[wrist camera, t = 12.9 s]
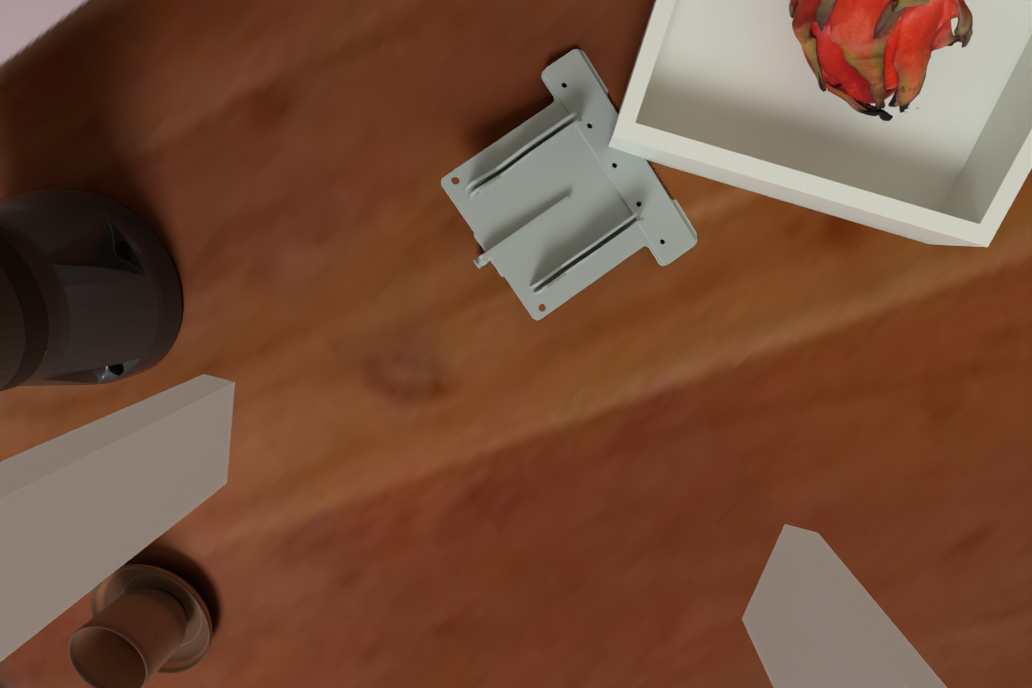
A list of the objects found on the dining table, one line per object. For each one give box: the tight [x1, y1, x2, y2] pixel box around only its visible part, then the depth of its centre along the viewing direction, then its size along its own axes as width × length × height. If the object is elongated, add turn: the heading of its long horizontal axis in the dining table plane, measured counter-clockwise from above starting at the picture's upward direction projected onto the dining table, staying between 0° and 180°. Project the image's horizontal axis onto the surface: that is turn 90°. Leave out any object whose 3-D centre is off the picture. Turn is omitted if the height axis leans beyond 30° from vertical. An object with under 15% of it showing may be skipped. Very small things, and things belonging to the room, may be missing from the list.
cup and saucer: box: [68, 564, 212, 688], centre depth 43 cm, size 12×12×6 cm
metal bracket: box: [441, 49, 697, 320], centre depth 32 cm, size 14×6×15 cm
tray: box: [608, 0, 1032, 247], centre depth 27 cm, size 22×20×4 cm
